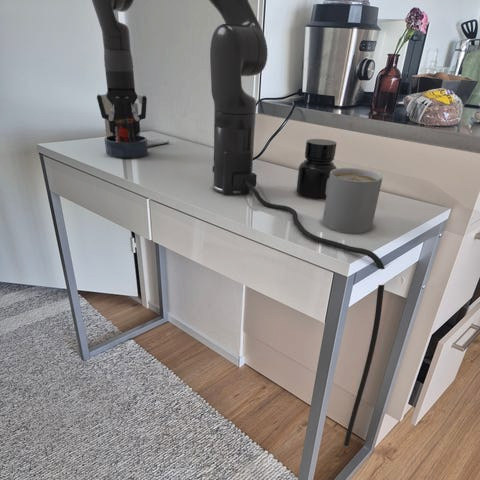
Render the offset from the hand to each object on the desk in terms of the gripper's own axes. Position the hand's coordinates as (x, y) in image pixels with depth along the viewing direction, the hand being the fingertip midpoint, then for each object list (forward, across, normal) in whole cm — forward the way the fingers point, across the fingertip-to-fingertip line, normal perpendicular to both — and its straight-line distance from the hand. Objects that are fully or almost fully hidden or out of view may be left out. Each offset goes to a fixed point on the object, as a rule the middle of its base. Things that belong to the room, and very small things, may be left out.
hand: (125, 134), depth 128 cm
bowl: (+6, 0, 0) cm, 6 cm away
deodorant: (+5, 0, 0) cm, 5 cm away
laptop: (+6, +4, +18) cm, 19 cm away
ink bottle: (+6, +43, -44) cm, 62 cm away
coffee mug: (+6, +44, -63) cm, 77 cm away
